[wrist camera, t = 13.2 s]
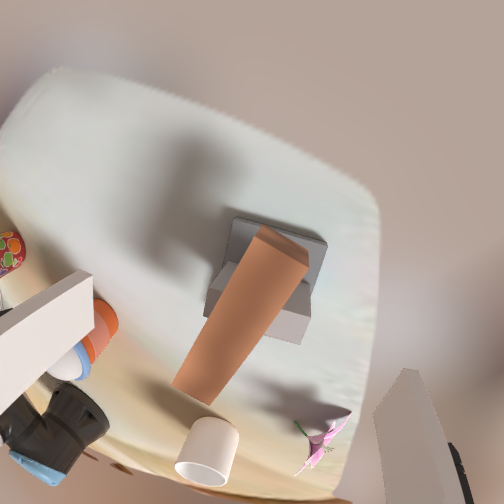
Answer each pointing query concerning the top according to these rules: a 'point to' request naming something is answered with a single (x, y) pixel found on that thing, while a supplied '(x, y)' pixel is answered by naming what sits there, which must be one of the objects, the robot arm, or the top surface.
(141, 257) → the top surface
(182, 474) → the cup
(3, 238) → the smoothie
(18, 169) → the top surface
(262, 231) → the batten
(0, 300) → the supplement box
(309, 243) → the ridge stand
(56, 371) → the cup with straw
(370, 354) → the top surface
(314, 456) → the lily
